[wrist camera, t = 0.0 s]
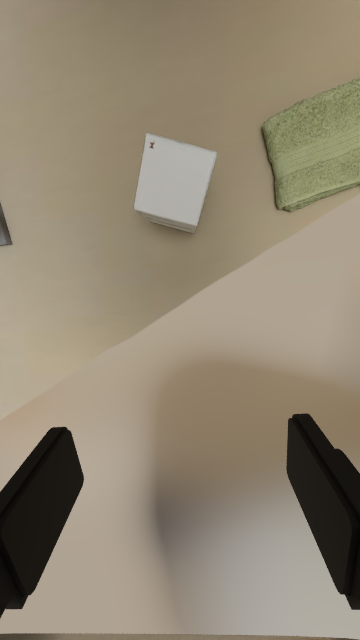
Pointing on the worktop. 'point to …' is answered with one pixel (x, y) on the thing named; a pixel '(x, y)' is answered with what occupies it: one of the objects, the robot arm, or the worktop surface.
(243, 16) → the worktop surface
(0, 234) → the bearing block
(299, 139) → the washcloth
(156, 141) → the supplement box
